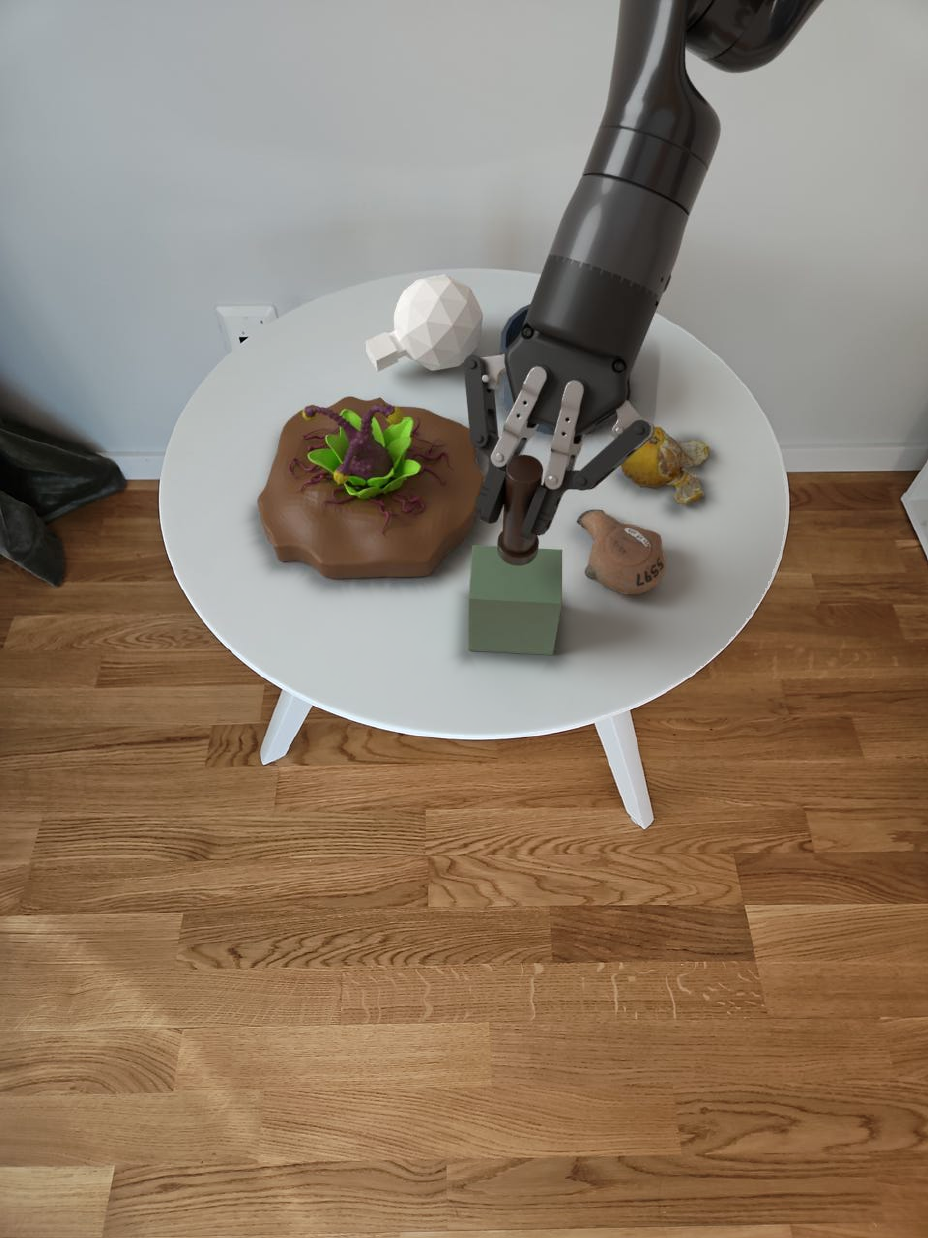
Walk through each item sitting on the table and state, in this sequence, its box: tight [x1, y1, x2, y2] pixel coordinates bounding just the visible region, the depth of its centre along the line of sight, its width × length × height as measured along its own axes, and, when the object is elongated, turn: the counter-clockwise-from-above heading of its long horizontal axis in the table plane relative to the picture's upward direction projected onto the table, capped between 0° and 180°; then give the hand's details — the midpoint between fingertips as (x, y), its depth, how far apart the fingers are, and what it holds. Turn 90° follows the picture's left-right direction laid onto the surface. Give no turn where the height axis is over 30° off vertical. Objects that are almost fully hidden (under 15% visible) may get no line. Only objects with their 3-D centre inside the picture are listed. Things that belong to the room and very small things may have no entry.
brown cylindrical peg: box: [497, 454, 544, 566], centre depth 62 cm, size 3×3×9 cm
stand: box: [467, 544, 563, 656], centre depth 72 cm, size 7×5×8 cm
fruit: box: [620, 426, 710, 506], centre depth 83 cm, size 8×8×4 cm
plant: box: [256, 395, 485, 580], centre depth 78 cm, size 20×20×11 cm
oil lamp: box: [576, 509, 667, 595], centre depth 78 cm, size 9×4×8 cm
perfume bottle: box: [364, 273, 484, 373], centre depth 88 cm, size 9×9×12 cm
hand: (508, 528), depth 61 cm, fingers closed on brown cylindrical peg, 2 cm apart
